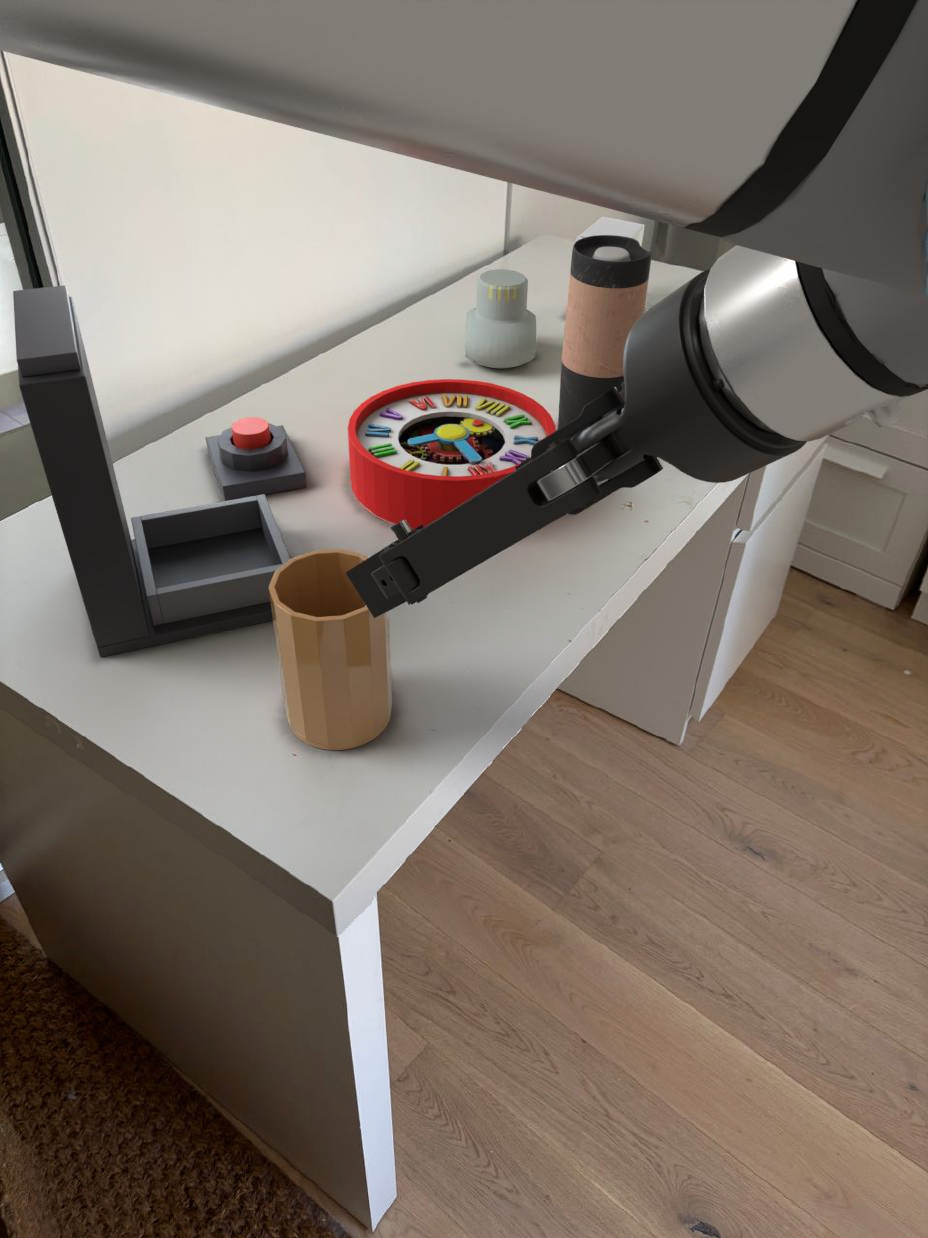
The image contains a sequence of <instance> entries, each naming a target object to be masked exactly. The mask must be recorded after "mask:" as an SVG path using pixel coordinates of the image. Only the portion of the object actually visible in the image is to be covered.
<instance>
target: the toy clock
mask: <svg viewBox="0 0 928 1238" xmlns="http://www.w3.org/2000/svg"><path fill="white" fill-rule="evenodd" d="M555 423H556V422H555V421H554V419H553V417H552V415H551V414H550V413H549V411H548V410H547V409H546V408H545V407H544V406H543V405H542V404H541V403H539V402H537V401H536V400H535V399H534V398H532V397H531V396H528V395H527V394H524V393H523V392H520V391H517V390H515V389H512V388H510V387H506V386H503V385H499V384H496V383H493V382H492V383H491V382H485V381H480V380H473V379H472V380H471V379H459V378H453V379H452V378H442V379H441V378H440V379H427V380H419V381H412V382H409V383H404V384H399V385H396V386H393V387H391V388H387V389H385V390H382V391H380V392H378V393H376V394H374V395H372V396H370V397H368V398H367V399H366V400H364V401H363V402H361V403H360V405H358V406H357V407H356V409H355V410H353V412H352V414H351V415H350V417H349V420H348V425H347V442H348V456H349V457H348V458H349V472H350V473H349V475H350V485H351V490H352V493H353V494H354V497H355V499H356V500H357V502H358V503H359V504H360V505H361V506H362V507H363V508H364V510H366V511H367V512H369V513H370V514H372V515H373V516H374V517H376V518H378V519H380V520H382V521H384V522H386V523H388V524H389V525H391V526H394V525H395V524H397V523H399V522H400V521H402V520H404V519H405V520H406V521H407V523H408V524H409V526H410V528H411V529H412V530H414V529H415V528H417V527H419V526H420V525H423V527H425V526H427V525H429V524H430V523H432V522H433V521H435V520H437V519H438V518H440V517H441V516H443V515H445V514H446V513H448V512H449V511H451V510H453V509H454V508H456V507H457V506H459V505H461V504H462V503H464V502H465V501H467V500H469V499H470V498H472V497H473V496H475V495H477V494H478V493H480V492H481V491H483V490H485V489H486V488H488V487H489V486H491V485H493V484H494V483H496V482H498V481H499V480H501V479H502V478H504V477H506V476H507V475H509V474H510V473H512V472H514V471H515V470H516V468H515V467H516V466H518V465H519V464H521V463H522V462H524V461H526V460H527V459H529V458H530V457H531V450H532V448H533V446H534V445H535V444H536V443H537V442H539V441H540V440H542V439H544V438H545V437H547V436H548V435H550V434H552V433H553V432H555V431H556V430H557V429H556V424H555Z"/></svg>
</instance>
